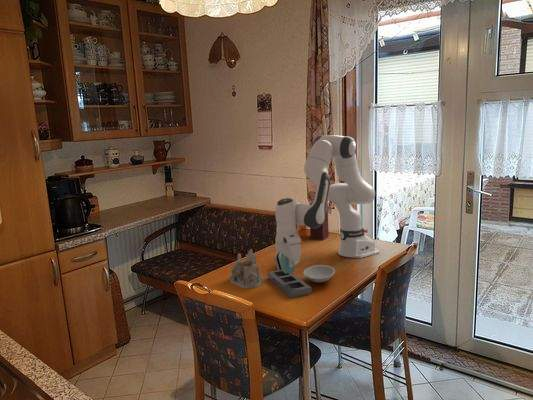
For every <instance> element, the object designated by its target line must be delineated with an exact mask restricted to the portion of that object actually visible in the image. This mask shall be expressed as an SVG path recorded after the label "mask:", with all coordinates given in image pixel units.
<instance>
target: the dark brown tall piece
mask: <svg viewBox="0 0 533 400" xmlns="http://www.w3.org/2000/svg"><path fill="white" fill-rule="evenodd" d="M313 203H314V200H313V201H310V202H309V203H308V205H312V204H313ZM328 203H329V202H328V200H327V203H326V208H325V220H324V222H323V224H322V225H321V226H320V227H318V228H316V229H313V228H310V227H309V230H310V231H309V233H310V236H309V237H310V240H315V241H316V240H318V241H324V240H326V239H328V238H329V236H330V235H329V204H328Z"/></svg>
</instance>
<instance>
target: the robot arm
mask: <svg viewBox="0 0 533 400" xmlns="http://www.w3.org/2000/svg"><path fill="white" fill-rule="evenodd" d="M356 151H357V143H356V140H355V139H354V138H353V137H351V136H346V135H345V136H344V135H339V134H337V135H336V134H334V135H331V134H330V135H329V134H328V135H325V134H322V135H318V136H316V137H315V138H314V140H313V142H312V146H311V149H310V151H309V152H308V154H307V157H306V159H305V163H304V167H303V171H304V174H305V175H306V177H307V178H308V179H309V180H311V181H312V182H314V184H315V185H316V189H315V194H314V199H313V201H314V203H313V204H312V205H309V204H306V203H301V202H297V201H295V200H294V199H293V198H289V197H287V198H282V199H279V200H278V201H277V203H276V206H275V221H276V227H275V228H276V235H275V240H274V241H275V242H274V243H275V250H276V251H277V252H278V251H279V252H280V253H281V254H283V255H284V256H286V257H287V258H288V260H289V263H288V267H293V262H294V261H299V260H300V261H301V257H302V256H301V255H302V253H301V252H302V251H301V250H302V249H301V244H300V243H302V238H301V237H300V235H299V234H298V232H297V225H298V226H304V227H307V228H309V229H310V228H313V229H316V228H318V227H320V226H321V225H322V224H323V222H324V220H325V208H326V203H327V201H328V200H329V201H330V202H331V203H332V204H333V205H334V206H335V207H336V208H337V211H338V213H339V218H340V229H339V236H340V244H339V249H338V254H339V256H340V257H341V256H342V257H345V258H357V259H363V258H366V257H370V256H372V255H377V254H380V250H379V249H378V247H376V245H375V242H374V240H373V239H372V238H370V237H369V236H367V235H366V234H367V233H368V232H369V230H368V228H363V227H362V214H361V213H360V212H359V211H358V210H356V209H355V208H353V206H352V205H367V204H372V202H374V199H375V197H376V190H375V189H374V187H373V186H372V185H371V184H370V183H368V182H367V181H366V180H364V178H363V177H362V175H361V174H360V171H359V166H358V162H357V161H358V160H357V155H356V154H357V153H356ZM332 159H334V165H335V170H336V176H337V177H338V179H339V181H342V182H340V183H332V184H331V176H330V174H329V168H330V165H331V163H332Z"/></svg>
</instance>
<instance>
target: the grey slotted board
mask: <svg viewBox="0 0 533 400" xmlns="http://www.w3.org/2000/svg"><path fill="white" fill-rule="evenodd" d="M267 279H269V280H270V281H271V282H272V283H273V284H274V285H275V286H276V287H277V288H278V289H279V290H280V291H281V292H283V293H284V294H285V295H286V296H287V297H288V298H289V299H294V298H299V297H304V296H307V295H312V286H311V285H309V284H308V283H306V282H305V281H304V280H303V279H301V278H300V277H299V276H297V275H296V274H294V272H293V273H287V274H285V273H284V272H283V271H282V269H281V270H278V269H277V270H273V271H268V272H267Z"/></svg>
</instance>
